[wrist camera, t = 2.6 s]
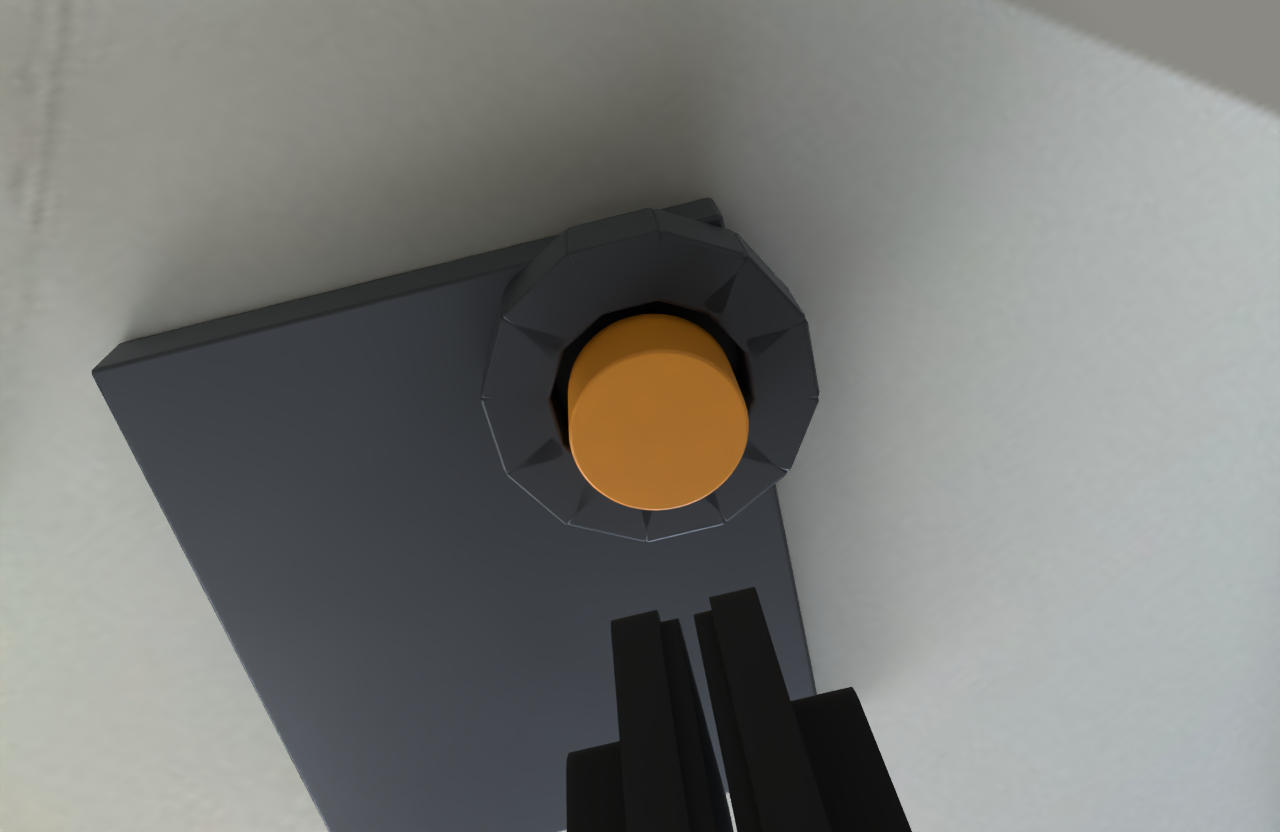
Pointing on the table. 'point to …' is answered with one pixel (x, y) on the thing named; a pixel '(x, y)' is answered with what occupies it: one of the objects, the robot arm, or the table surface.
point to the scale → (462, 510)
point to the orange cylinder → (655, 413)
